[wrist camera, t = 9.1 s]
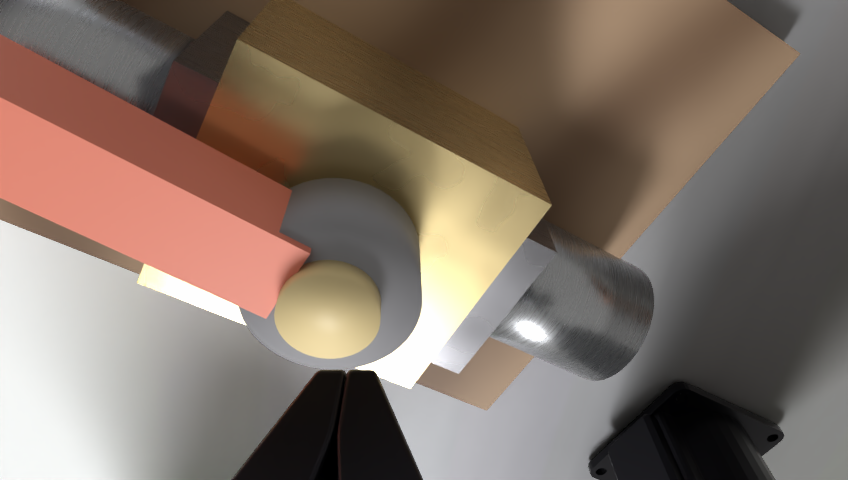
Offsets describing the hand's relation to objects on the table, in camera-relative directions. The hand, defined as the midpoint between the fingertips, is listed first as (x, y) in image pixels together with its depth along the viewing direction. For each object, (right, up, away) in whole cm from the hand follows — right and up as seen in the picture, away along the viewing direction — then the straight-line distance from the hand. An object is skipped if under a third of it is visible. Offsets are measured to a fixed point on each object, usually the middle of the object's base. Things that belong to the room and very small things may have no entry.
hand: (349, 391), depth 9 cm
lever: (-5, +4, +5) cm, 8 cm away
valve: (-1, +5, +11) cm, 13 cm away
